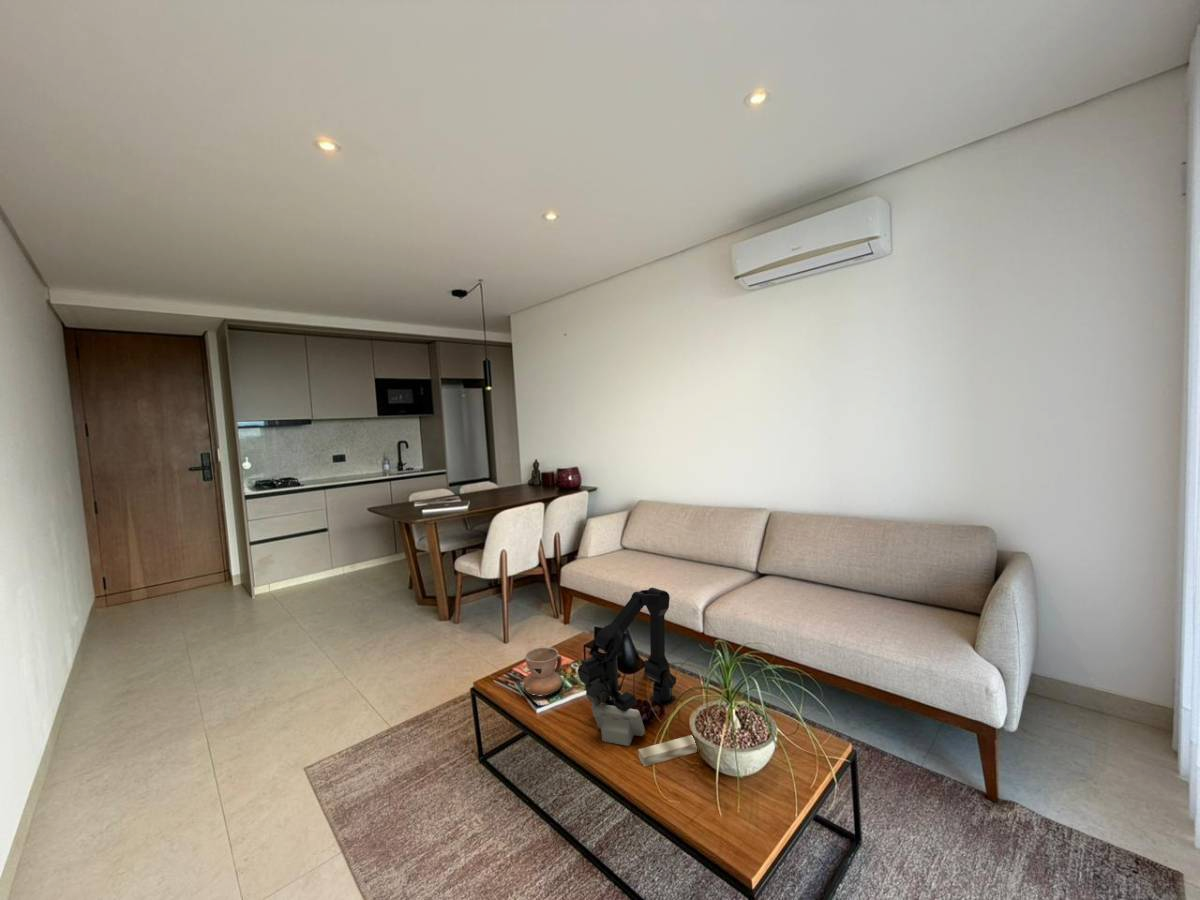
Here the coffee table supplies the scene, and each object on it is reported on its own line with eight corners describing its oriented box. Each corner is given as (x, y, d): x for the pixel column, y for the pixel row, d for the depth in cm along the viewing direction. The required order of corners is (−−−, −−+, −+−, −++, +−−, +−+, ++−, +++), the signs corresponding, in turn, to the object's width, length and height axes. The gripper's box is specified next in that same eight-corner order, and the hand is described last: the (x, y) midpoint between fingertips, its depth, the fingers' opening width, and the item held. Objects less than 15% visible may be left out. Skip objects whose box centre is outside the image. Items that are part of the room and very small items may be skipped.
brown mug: (536, 707, 174) (534, 668, 174) (513, 692, 185) (511, 655, 184) (574, 687, 187) (573, 650, 186) (551, 674, 197) (549, 639, 197)
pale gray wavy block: (693, 743, 150) (693, 734, 150) (700, 752, 146) (699, 742, 146) (639, 759, 145) (638, 749, 144) (644, 768, 141) (643, 757, 141)
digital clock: (648, 733, 154) (645, 703, 152) (635, 754, 147) (631, 722, 145) (604, 718, 163) (601, 689, 161) (589, 737, 155) (586, 706, 154)
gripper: (571, 671, 159) (574, 717, 160) (610, 692, 146) (613, 743, 146) (596, 658, 167) (599, 703, 168) (636, 677, 153) (639, 726, 154)
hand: (611, 718), depth 159 cm, fingers closed
